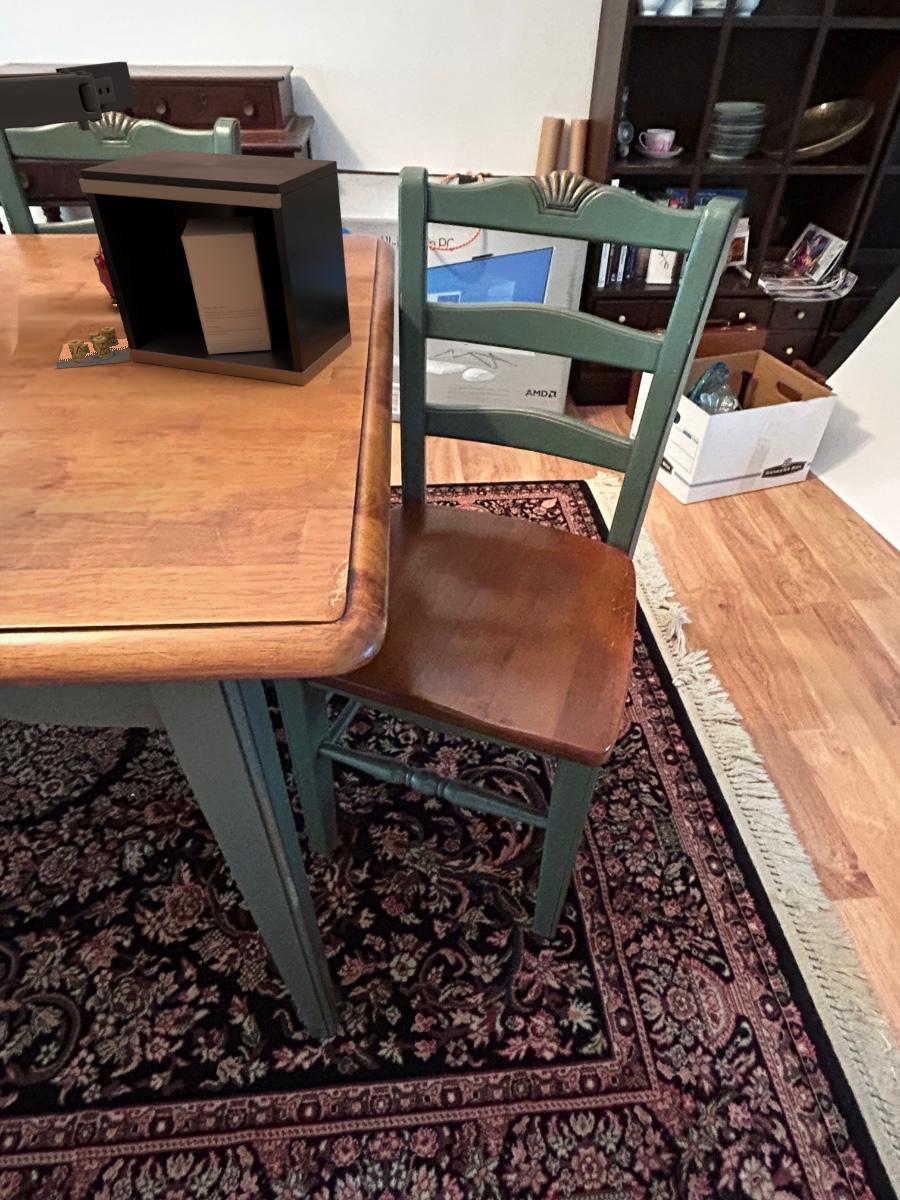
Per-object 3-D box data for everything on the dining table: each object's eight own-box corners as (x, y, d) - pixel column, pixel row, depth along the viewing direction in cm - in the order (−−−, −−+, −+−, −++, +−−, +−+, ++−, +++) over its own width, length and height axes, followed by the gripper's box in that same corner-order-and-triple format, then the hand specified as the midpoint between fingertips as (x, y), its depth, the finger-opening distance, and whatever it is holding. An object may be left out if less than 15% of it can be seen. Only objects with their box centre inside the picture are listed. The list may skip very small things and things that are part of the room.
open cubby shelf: (130, 363, 85) (75, 171, 72) (195, 324, 95) (157, 149, 82) (302, 388, 80) (275, 186, 67) (351, 344, 90) (336, 160, 77)
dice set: (119, 341, 90) (114, 326, 89) (116, 357, 86) (111, 341, 85) (74, 346, 89) (69, 330, 88) (70, 361, 85) (65, 345, 84)
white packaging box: (273, 328, 89) (256, 214, 81) (272, 351, 84) (254, 231, 76) (210, 332, 88) (187, 217, 80) (206, 355, 83) (180, 234, 75)
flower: (85, 308, 94) (109, 254, 91) (77, 274, 99) (99, 221, 96) (159, 338, 101) (183, 288, 97) (147, 304, 106) (170, 256, 102)
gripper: (-336, 180, 45) (-58, 131, 61) (-11, 210, 40) (205, 147, 55) (-429, 25, 40) (-101, 15, 56) (-74, 34, 35) (182, 20, 50)
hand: (51, 81), depth 56 cm, fingers open, 13 cm apart
